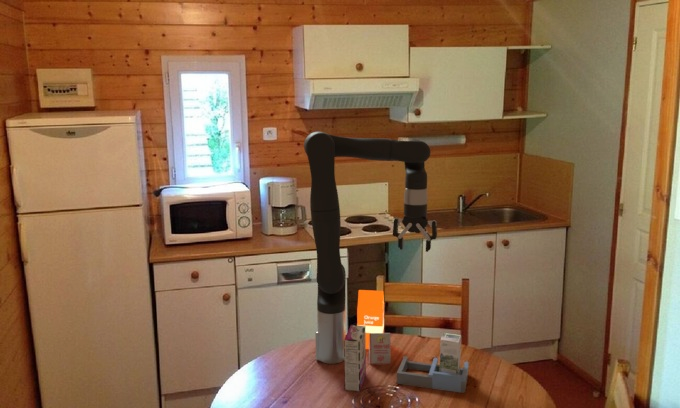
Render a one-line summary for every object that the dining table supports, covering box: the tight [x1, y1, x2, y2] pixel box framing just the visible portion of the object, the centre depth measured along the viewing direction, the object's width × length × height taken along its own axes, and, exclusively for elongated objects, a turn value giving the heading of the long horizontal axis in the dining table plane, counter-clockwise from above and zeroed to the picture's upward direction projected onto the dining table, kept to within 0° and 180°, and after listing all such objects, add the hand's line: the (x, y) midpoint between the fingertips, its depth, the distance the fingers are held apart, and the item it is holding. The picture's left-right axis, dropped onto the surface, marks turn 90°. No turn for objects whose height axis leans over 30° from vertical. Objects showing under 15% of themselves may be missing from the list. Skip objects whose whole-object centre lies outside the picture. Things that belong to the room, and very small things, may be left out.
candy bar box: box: [343, 324, 367, 392], centre depth 177 cm, size 11×5×16 cm, turn 168°
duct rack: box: [396, 355, 469, 394], centre depth 181 cm, size 20×12×5 cm, turn 73°
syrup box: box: [439, 332, 462, 375], centre depth 179 cm, size 6×6×14 cm
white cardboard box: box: [368, 332, 392, 365], centre depth 192 cm, size 4×7×10 cm, turn 91°
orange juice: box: [356, 289, 385, 350], centre depth 204 cm, size 8×9×20 cm
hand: (414, 250), depth 193 cm, fingers open, 8 cm apart
